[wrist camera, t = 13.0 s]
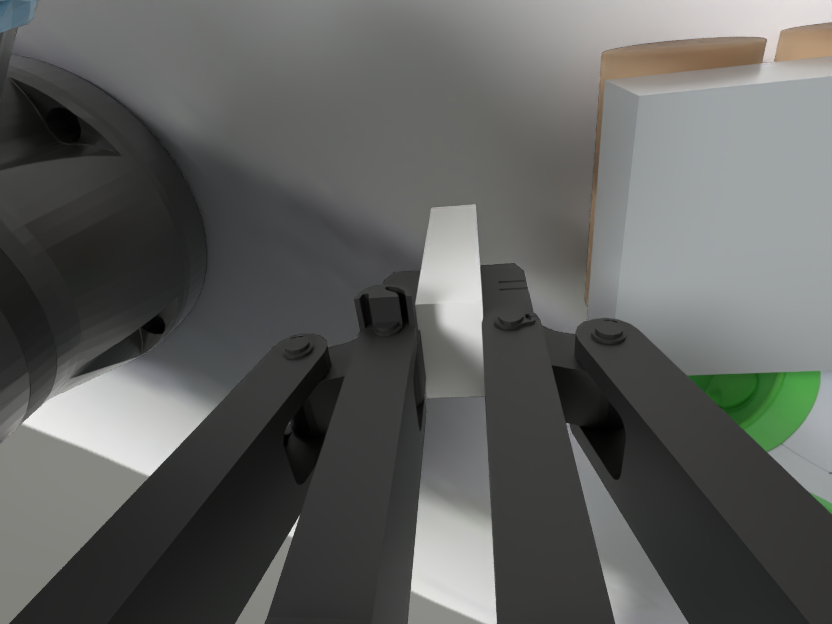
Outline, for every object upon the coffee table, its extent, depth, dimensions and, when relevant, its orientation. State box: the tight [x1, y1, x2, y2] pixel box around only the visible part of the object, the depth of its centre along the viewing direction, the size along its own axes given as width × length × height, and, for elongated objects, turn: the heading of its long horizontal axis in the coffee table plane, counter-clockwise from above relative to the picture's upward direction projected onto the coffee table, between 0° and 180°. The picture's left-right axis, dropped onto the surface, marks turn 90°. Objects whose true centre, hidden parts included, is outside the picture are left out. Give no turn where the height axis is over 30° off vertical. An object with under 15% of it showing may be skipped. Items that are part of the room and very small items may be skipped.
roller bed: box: [585, 22, 832, 306], centre depth 19 cm, size 17×10×5 cm, turn 96°
